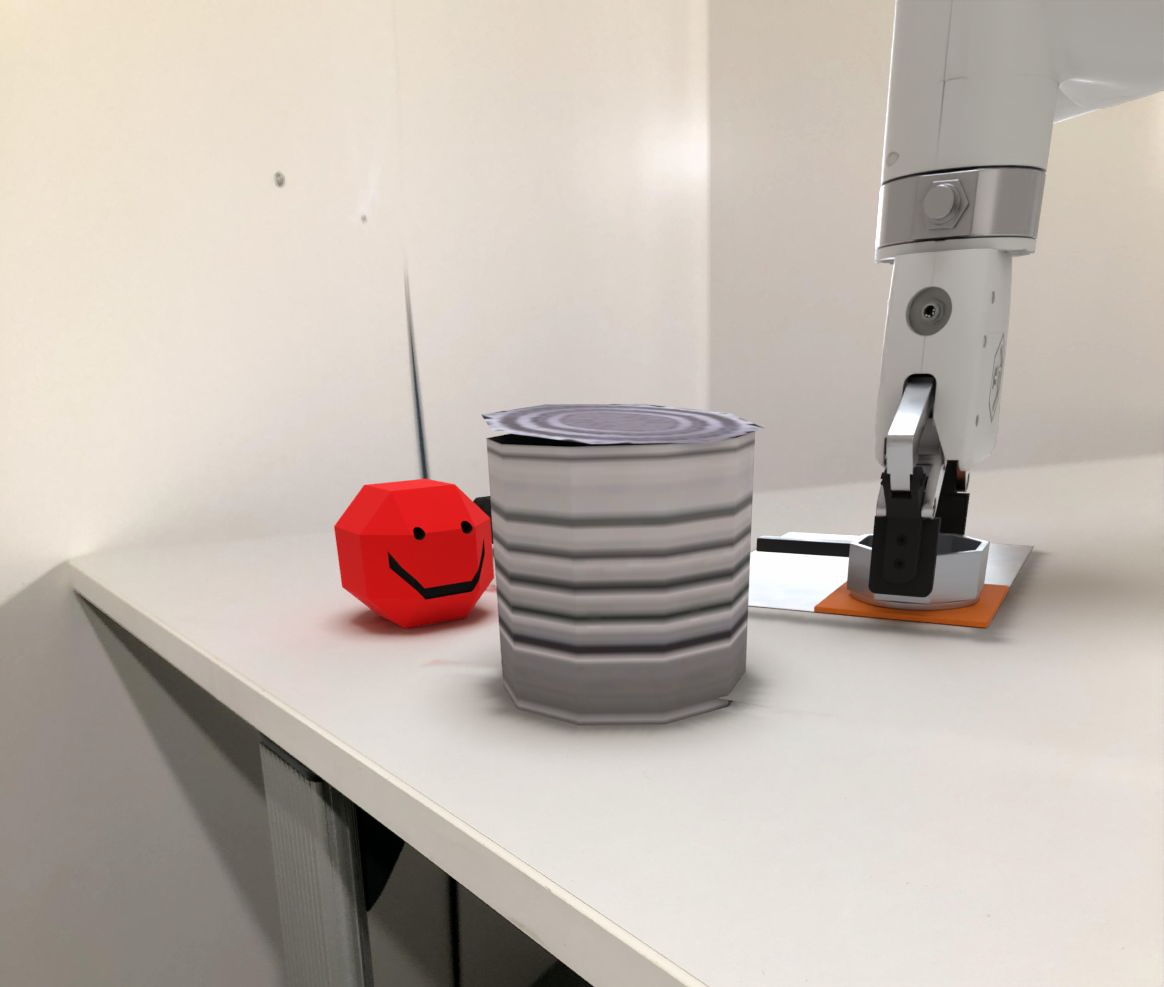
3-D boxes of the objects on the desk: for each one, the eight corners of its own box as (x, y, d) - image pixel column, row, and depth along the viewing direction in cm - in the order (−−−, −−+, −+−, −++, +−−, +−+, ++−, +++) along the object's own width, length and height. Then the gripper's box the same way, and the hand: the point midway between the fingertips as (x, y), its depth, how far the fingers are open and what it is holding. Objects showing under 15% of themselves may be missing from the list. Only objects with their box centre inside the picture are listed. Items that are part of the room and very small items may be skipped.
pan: (987, 587, 56) (995, 535, 54) (969, 615, 50) (976, 558, 49) (775, 571, 61) (777, 524, 60) (737, 595, 56) (739, 543, 55)
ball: (386, 643, 52) (369, 498, 49) (334, 615, 58) (316, 485, 55) (513, 618, 56) (505, 483, 53) (452, 594, 62) (441, 472, 59)
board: (788, 539, 76) (788, 531, 76) (1033, 553, 68) (1034, 545, 68) (665, 607, 57) (665, 597, 57) (985, 639, 49) (987, 628, 49)
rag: (854, 578, 60) (855, 574, 60) (1008, 590, 56) (1009, 585, 56) (813, 611, 53) (814, 606, 53) (986, 628, 49) (987, 622, 49)
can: (694, 640, 51) (698, 397, 46) (791, 708, 40) (809, 406, 36) (481, 663, 48) (461, 408, 43) (528, 742, 38) (510, 421, 33)
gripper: (1018, 197, 38) (962, 619, 45) (1054, 233, 52) (1007, 552, 59) (832, 214, 42) (807, 605, 49) (913, 244, 56) (884, 545, 63)
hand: (917, 575), depth 54 cm, fingers open, 8 cm apart
